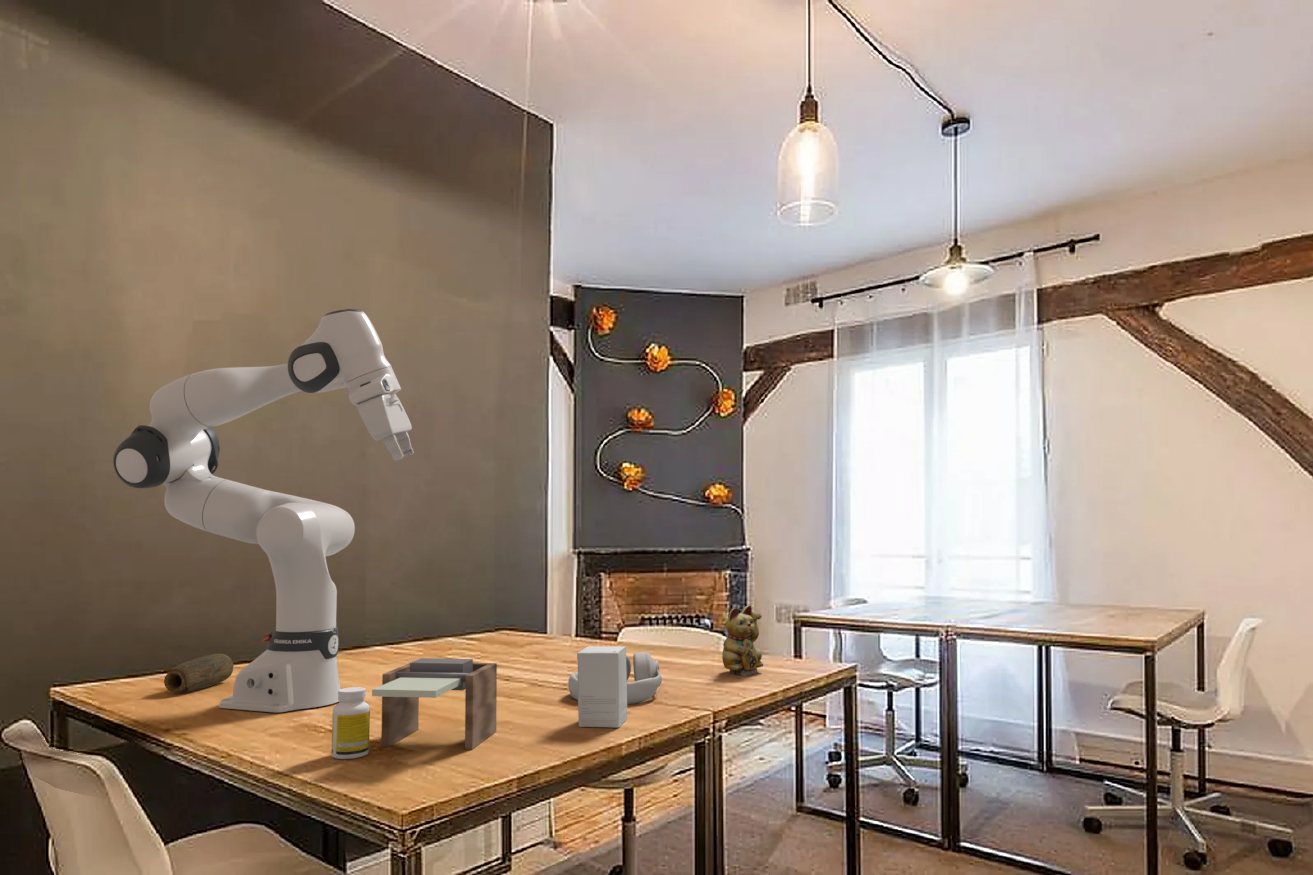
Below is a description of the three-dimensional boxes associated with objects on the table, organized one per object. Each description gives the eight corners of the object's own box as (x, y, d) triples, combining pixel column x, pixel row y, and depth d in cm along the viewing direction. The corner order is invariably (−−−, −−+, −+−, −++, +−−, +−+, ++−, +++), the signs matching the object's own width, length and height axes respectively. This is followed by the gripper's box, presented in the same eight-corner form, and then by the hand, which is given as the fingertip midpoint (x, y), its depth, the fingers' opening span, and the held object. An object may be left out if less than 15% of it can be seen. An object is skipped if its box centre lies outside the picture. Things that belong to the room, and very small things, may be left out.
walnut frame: (411, 729, 146) (412, 662, 147) (496, 731, 143) (496, 663, 144) (381, 746, 135) (382, 674, 136) (472, 749, 132) (472, 675, 133)
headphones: (595, 680, 185) (556, 714, 166) (593, 644, 184) (553, 674, 165) (677, 684, 179) (645, 720, 160) (674, 647, 178) (643, 678, 159)
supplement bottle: (376, 754, 130) (377, 688, 131) (342, 762, 126) (344, 694, 127) (357, 748, 134) (358, 684, 135) (324, 756, 130) (326, 690, 131)
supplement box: (628, 718, 152) (627, 645, 153) (619, 728, 144) (618, 652, 146) (588, 717, 153) (587, 645, 154) (576, 727, 146) (576, 651, 147)
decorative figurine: (738, 678, 187) (737, 608, 189) (712, 673, 194) (711, 606, 195) (768, 672, 194) (766, 605, 195) (741, 667, 200) (740, 602, 201)
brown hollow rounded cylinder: (206, 681, 191) (207, 651, 192) (235, 682, 190) (236, 651, 191) (159, 696, 176) (160, 663, 177) (190, 696, 176) (192, 663, 176)
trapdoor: (413, 683, 143) (413, 658, 143) (480, 685, 141) (480, 659, 141) (366, 705, 127) (366, 676, 127) (441, 707, 125) (441, 677, 126)
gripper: (372, 396, 171) (400, 459, 173) (345, 396, 151) (377, 468, 152) (402, 384, 172) (429, 447, 173) (379, 383, 152) (410, 455, 153)
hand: (404, 457), depth 162 cm, fingers open, 8 cm apart
